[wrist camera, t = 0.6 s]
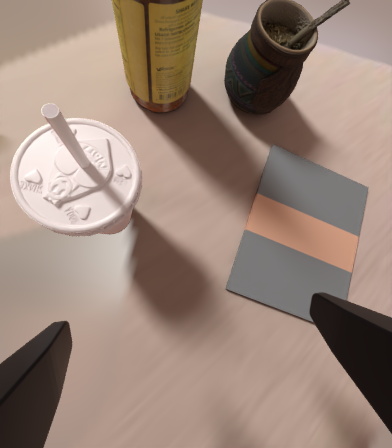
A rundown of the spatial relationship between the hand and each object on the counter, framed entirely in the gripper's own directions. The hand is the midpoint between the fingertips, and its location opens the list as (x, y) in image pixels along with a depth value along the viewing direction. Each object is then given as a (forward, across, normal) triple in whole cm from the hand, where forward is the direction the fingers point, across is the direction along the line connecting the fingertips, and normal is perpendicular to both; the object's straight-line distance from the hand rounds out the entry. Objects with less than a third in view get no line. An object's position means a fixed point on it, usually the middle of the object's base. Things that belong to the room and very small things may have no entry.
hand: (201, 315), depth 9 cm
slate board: (+14, -14, +2) cm, 19 cm away
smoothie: (+15, +5, 0) cm, 16 cm away
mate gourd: (+21, -10, -12) cm, 26 cm away
